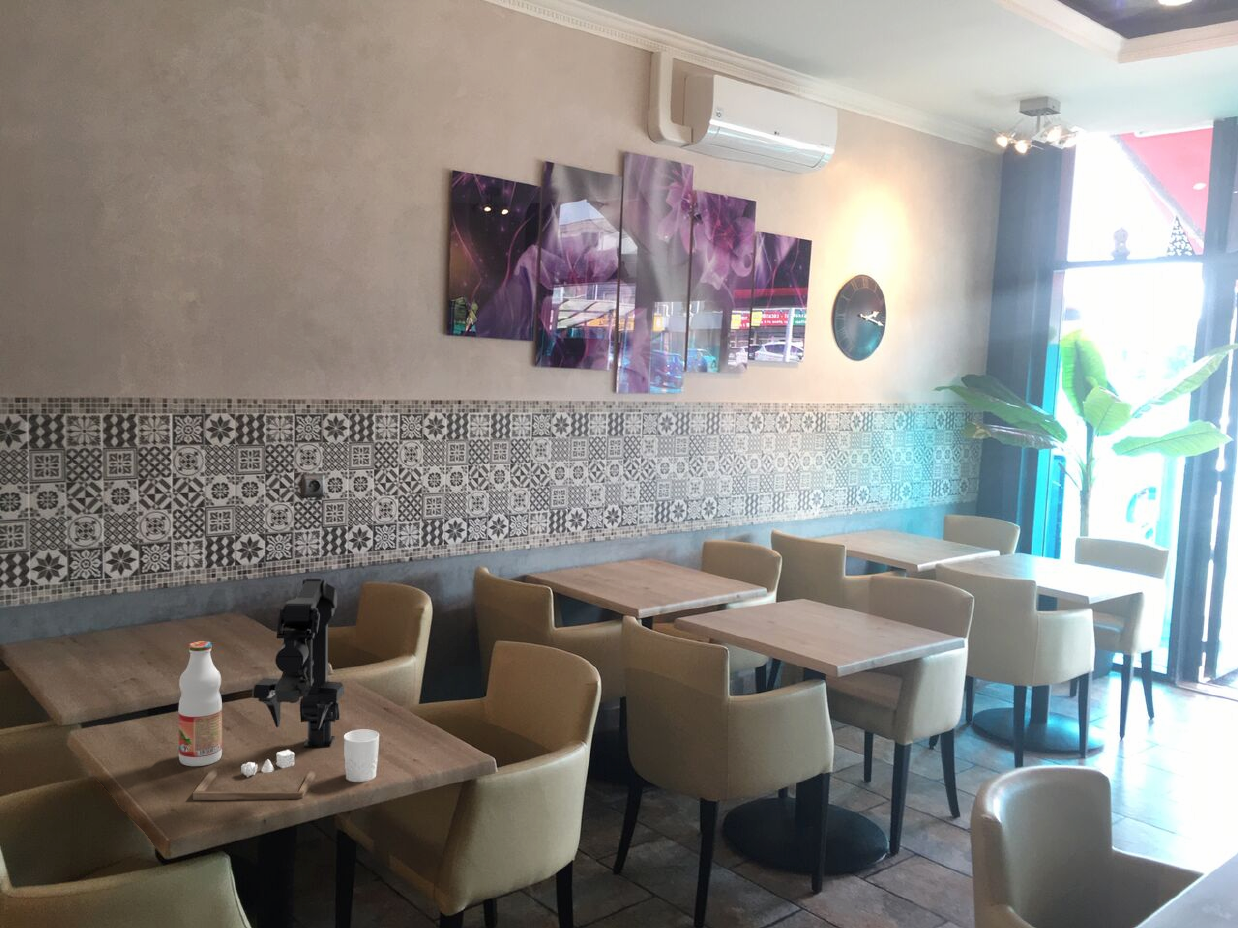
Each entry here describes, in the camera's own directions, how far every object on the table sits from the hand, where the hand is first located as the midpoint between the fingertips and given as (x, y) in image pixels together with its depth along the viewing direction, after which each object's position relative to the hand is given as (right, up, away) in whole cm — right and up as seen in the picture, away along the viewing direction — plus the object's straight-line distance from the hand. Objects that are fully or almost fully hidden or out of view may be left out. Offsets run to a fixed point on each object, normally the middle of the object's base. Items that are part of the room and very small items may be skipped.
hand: (298, 727), depth 222 cm
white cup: (+12, -14, +8) cm, 20 cm away
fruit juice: (-28, -12, +15) cm, 34 cm away
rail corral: (-10, -13, +1) cm, 17 cm away
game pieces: (-10, -13, +10) cm, 20 cm away
